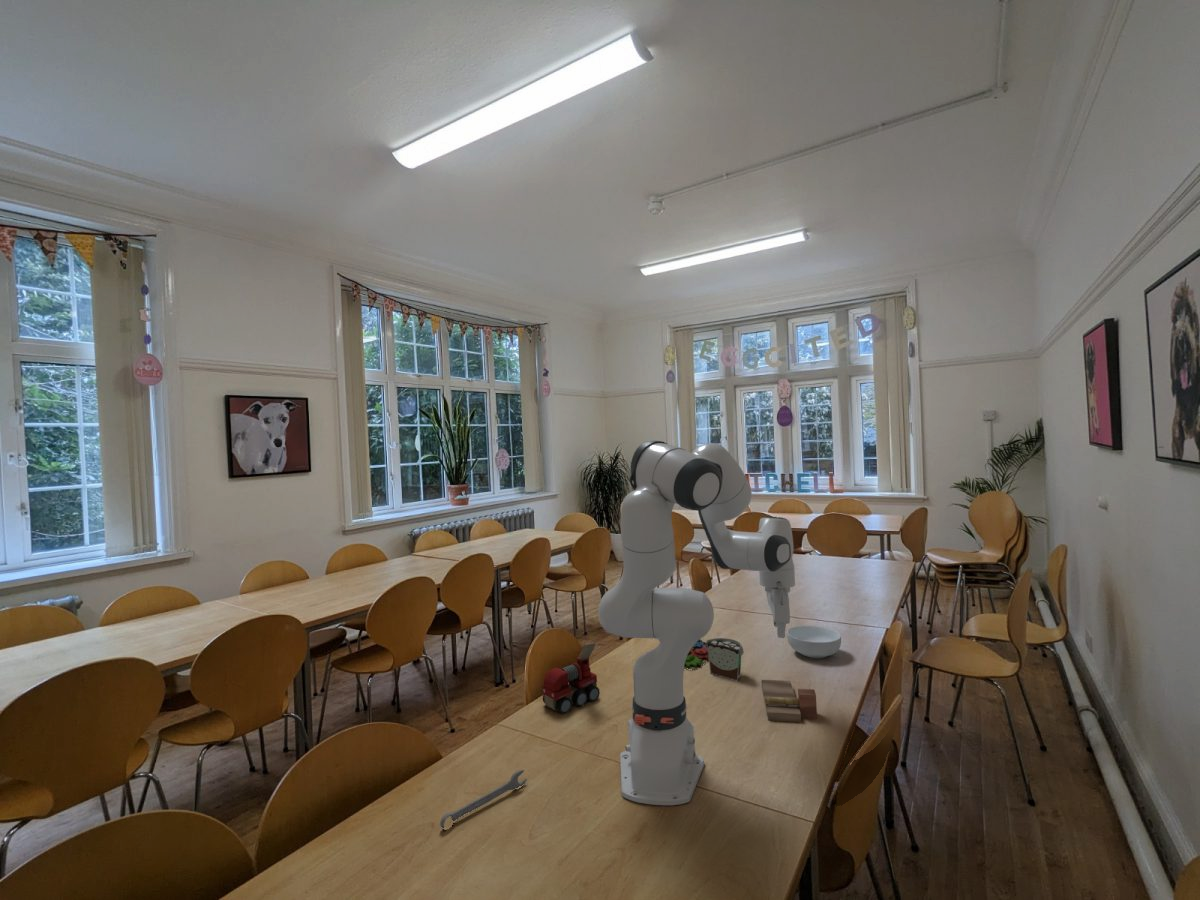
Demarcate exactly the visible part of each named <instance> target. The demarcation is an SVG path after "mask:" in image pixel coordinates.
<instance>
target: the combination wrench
mask: <svg viewBox="0 0 1200 900" xmlns="http://www.w3.org/2000/svg"><path fill="white" fill-rule="evenodd" d="M524 772H525V770H524V769H518V770H516V771H515V772H514V773H513V774H511V776H510V779H508V780H507V782H505V783H504V784H502V785H500V786H498V787H497V788H494V790H492V791H490V792H488V793H486V794H485V795H482V796H480V797H478V798H477V799H475V800H473V801H471V802H469V803H468V804H466V805H464V806H462V807H461V808H458V809H457V810H454V811H453V812H447V813H445V814H444V815H443V816H442V818H441V820H440V824H439V825H440V828H441V827H442V828H444V827H445V822H446V820H447V819H448V818H449V817H451V820H453V821H455V820H456V819H458V818H459V817H461V816H463V815H464V814H466V813H468V812H470V813H472V812H473V811H472V810H474V809H475V810H477V809H479V808H480V806H481V807H482V806H484V805H486V804H487V803H489V802H491V801H493V800H494V799H496V798H498V797H499V796H501V795H503V794H505V793H506V792H508V791H513V789H515V788H518V787H519V786H522V785H523V784H524V785H525V784H526V782H527V780H528V779H527V777H524V779H523V778H522V780H521V781H520V782H519V777H520V776H521V775H522V774H523V773H524ZM478 807H479V808H478ZM476 808H477V809H476ZM475 810H474V811H475ZM471 811H472V812H471ZM463 817H464V816H463ZM442 828H441V829H442Z"/></svg>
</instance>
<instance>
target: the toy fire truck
mask: <svg viewBox="0 0 1200 900" xmlns="http://www.w3.org/2000/svg"><path fill="white" fill-rule="evenodd" d="M595 647H596V643H595V642H594V641H593V642H587V643H584V644H583V646H582V648H581V650H580V653H579V655H578V656H577V657H576V662H574V663H572V664H570V665H567V666H565V667H563V668H559V667H554V668H553V667H552V668H551V669H549V670H548V671H547V673H546V675H545V676H544V679H543V682H542V683H543V685H542V689H541V691H542V693H543V694H542V702H543V703H544V705H545V706H546V707H547V708H550V709H552V710H554V711H557V712H559V713H561V715H562V714H567V713H569V712H570V711H571V708H572V706H573V704H574V705H575V706H577V707H579V708H581V707H584V706H585V705H586V704H587V702H588V701H590V702H592V701H593V702H595V700H596V701H597V700H598V699H599V697H600V693H601V692H600V688H599V687H598V685H597V683H598V677H597V674H596V673H594V672H591V667H590V657H591V655H592V653H593V651H594V649H595ZM583 705H584V706H583Z"/></svg>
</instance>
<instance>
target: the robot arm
mask: <svg viewBox="0 0 1200 900" xmlns="http://www.w3.org/2000/svg"><path fill="white" fill-rule="evenodd" d="M632 455H633V456H632V457H631V462H630V476H629V482H630V485H631V488H632V489H633V490H632V491H630V492H629V493H628V494H627V495H626V496H625V497H624V498H623V501H622V503H621V509H620V510H621V511H620V537H621V538H620V539H621V546H622V557H623V559H622V561H623V563H622V565H623V569H622V570H623V571H622V573H621V576H620V579H619V581H618V582H617V583H616V584H615V585H614V586H613V587H612V588H610V589H608V590H607V591H606V592H605V593H604V594H603V596H602V597H601V599H600V601H599V604H598V609H597V611H598V613H597V614H598V615H597V616H598V621H599V623H600V625H601V627H602V629H603V630H604V631H605V633H607V634H611V635H614V636H618V637H623V638H626V639H627V638H628V639H629V638H632V639H633V638H634V639H656V640H658V642H659V644H658V645H657V646H656V647H654V648H652V649H650V650H648V651H646V652H644V653H642V654H641V655H640V656H639V657H637V658H636V660H635V662H634V664H633V668H632V673H633V674H632V676H633V677H632V678H633V692H634V693H633V696H632V697H633V698H632V704H631V710H632V717H631V718H630V719H629V720H627V721H628V722H627V725H628V727H627V729H628V744H625V745H626V746H625V750H624V751H622V752H620V755H619V765H620V766H619V767H620V768H619V769H620V770H619V771H620V788H621V789H620V791H621V797H623V798H624V799H627V800H629V801H632V802H634V803H639V804H644V805H653V806H676V805H683V804H686V803H689V802H691V800H692V797H693V795H694V792H695V789H696V787H697V785H698V782H699V779H700V776H701V774H702V771H703V769H704V767H705V759H704V758H703V757H702V756H700V755H698V754H696V742H695V741H696V739H695V738H696V737H695V730H694V729H695V727H694V724H693V723H692V722H691V721H690V720H689V719H688V718H687V702H686V697H685V695H684V672H685V670H684V664H685V660H686V657H687V655H688V653H689V651H690V650H691V648H692V647H693V646H694V644H695V643H696V642H697V641H698V640H702V638H704V637H705V636H706V635H707V634H708V633H709V632H710V630H711V628H712V627H713V624H714V619H715V618H714V617H715V613H714V607H713V604H712V602H711V600H710V598H709V597H708V595H707V594H706V593H704V592H703V591H699V590H695V589H691V588H686V587H659V586H661V585H663V584H664V583H666V582H667V581H668V580H669V579H670V578H671V577H672V576H673V575H674V572H675V570H676V568H677V567H676V566H677V562H676V561H677V560H676V549H675V539H674V527H673V524H672V523H673V522H672V514H673V509H674V507H675V504H676V505H678V506H680V507H681V508H684V509H686V510H691V511H697V512H698V518H699V520H700V523H701V525H702V528H703V530H704V533H705V535H706V537H707V540H708V542H709V546H710V552H711V555H712V558H713V559H712V560H714V562H715V563H716V565H717V566H718V567H719V568H721V570H722V569H723V570H742V571H751V572H752V571H753V572H759V585H760V586H761V587H764V591H765V592H766V593H765V594H766V598H767V602H768V606H769V609H770V612H771V615H772V617H773V619H772V620H773V626H774V627H776V635H777V638H779V639H785V638H786V629H787V628H786V627H787V626H786V625H788V624H790V623H791V611H790V610H791V609H790V598H789V593H791V588H794V587H795V586H796V577H795V576H796V572H795V564H794V560H793V556H794V537H793V531H792V526H791V523H790V520H789V519H787V518H785V517H781V516H778V517H777V516H763V517H761V518H760V519H759V524H758V531H756V532H754V531H753V532H752V531H751V532H750V531H737V530H733V529H729V528H727V525H726V523H725V522H727V521H731V520H734V519H736V518H738V517H739V516H741V515H742V514H744V512H745V511H746V509H747V508H748V507H749V505H750V503H751V501H752V496H753V495H752V488H751V484H750V482H749V480H748V478H747V477H746V475H745V473H744V471H743V470H742V468H741V466H740V465H739V463H738V462H737V460H736V459H735V458H734V456H732V454H731V453H730V452H729V450H727V449H726V448H725V447H724V446H723V445H721V444H718V443H715V442H708V443H707V442H706V443H703V444H701V445H699V446H697V447H696V448H694V449H693V451H690V452H689V451H688V450H687V449H684V448H682V447H679V446H677V445H673V444H669V443H667V442H664V441H661V440H649V441H645V442H643V443H641V444H640V445H638V447H637V448H636V449H635V451H634V452H633V454H632Z"/></svg>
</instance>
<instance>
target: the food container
mask: <svg viewBox="0 0 1200 900" xmlns="http://www.w3.org/2000/svg"><path fill="white" fill-rule="evenodd" d="M705 643H706V645H705V647H707V650H708V658H709V662H708V664H709V672H710V674H711V673H712V674H711V675H714V674H716V675H715V676H717V675H719V676H718V677H721V676H722V678H724V677H726V678H725V679H728V678H729V679H728V680H731V679H733V680H732V681H735V680H737V681H736V682H739V681H740V680H741V668H742V665H741V664H742V656H743V655H744V654H745V653H744V648H743V645H742V643H741V642H740V641H738V640H735V639H732V638H726V637H725V638H724V637H723V638H722V637H718V638H711V639H710V638H709V639H706V641H705ZM739 679H740V680H739ZM738 680H739V681H738Z"/></svg>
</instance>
